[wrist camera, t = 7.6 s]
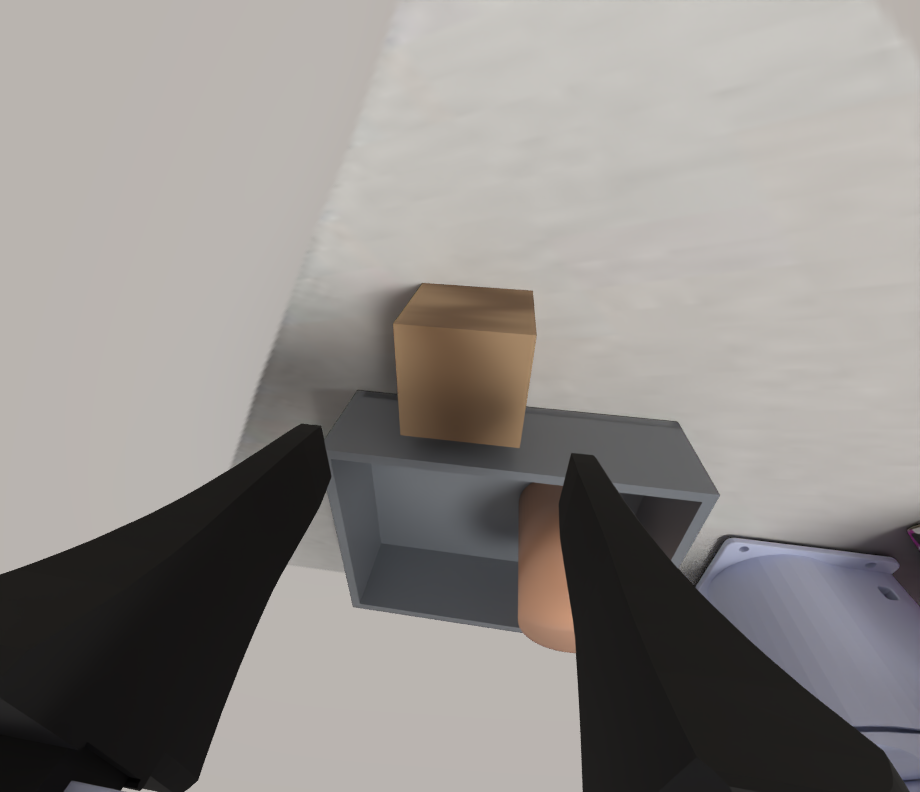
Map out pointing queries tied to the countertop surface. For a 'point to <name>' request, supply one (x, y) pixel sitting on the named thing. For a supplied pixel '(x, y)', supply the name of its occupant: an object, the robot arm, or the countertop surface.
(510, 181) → the countertop surface
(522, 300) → the walnut cube
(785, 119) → the countertop surface
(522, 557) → the terracotta cylinder
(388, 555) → the box
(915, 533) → the candy bar box
